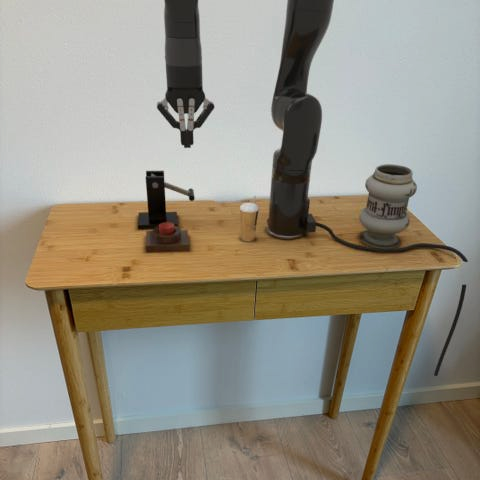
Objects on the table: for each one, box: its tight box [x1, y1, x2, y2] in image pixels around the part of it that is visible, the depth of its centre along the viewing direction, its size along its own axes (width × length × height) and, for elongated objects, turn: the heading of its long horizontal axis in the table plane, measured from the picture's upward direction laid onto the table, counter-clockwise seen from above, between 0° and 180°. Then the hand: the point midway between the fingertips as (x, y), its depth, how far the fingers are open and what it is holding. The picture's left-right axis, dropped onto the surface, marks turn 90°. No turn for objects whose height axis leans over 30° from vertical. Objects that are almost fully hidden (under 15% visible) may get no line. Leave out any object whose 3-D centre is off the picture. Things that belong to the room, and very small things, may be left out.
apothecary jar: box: [358, 163, 418, 248], centre depth 119 cm, size 12×12×18 cm
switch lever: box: [151, 173, 196, 202], centre depth 123 cm, size 12×5×2 cm, turn 97°
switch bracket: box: [137, 170, 179, 230], centre depth 124 cm, size 10×8×13 cm
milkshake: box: [239, 195, 260, 242], centre depth 120 cm, size 4×5×10 cm
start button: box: [159, 222, 175, 235], centre depth 116 cm, size 4×4×2 cm
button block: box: [145, 226, 190, 253], centre depth 117 cm, size 10×8×4 cm
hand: (187, 146), depth 112 cm, fingers closed
